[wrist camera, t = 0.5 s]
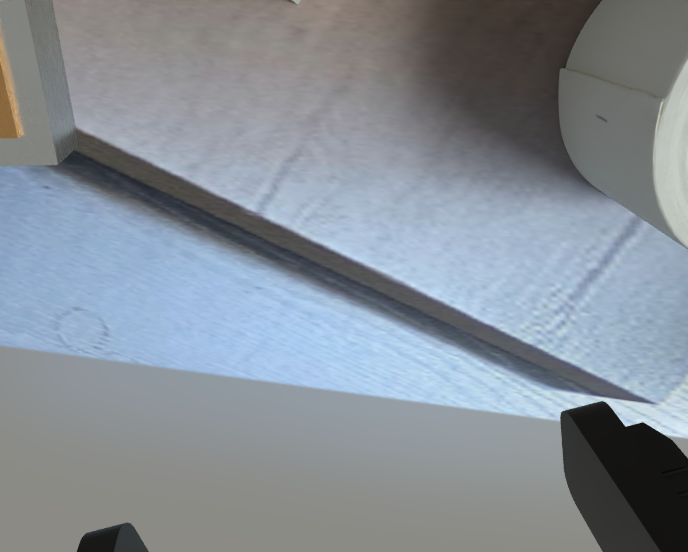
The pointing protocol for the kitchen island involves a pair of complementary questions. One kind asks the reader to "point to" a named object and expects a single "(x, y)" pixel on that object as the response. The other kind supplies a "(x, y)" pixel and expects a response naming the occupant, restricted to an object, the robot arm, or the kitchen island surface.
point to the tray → (33, 87)
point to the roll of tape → (632, 108)
